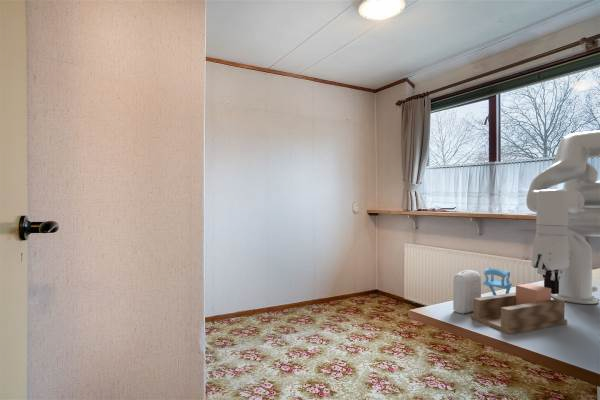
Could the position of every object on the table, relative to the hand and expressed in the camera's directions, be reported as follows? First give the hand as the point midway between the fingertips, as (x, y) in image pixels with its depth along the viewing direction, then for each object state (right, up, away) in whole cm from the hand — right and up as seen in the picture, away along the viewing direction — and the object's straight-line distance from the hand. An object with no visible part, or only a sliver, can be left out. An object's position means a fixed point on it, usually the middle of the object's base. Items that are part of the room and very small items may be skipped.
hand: (551, 292), depth 99 cm
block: (-7, -6, -3) cm, 10 cm away
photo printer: (-23, -7, +4) cm, 24 cm away
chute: (-13, -7, -5) cm, 15 cm away
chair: (-10, -7, +10) cm, 16 cm away
